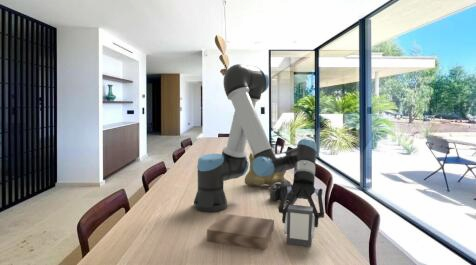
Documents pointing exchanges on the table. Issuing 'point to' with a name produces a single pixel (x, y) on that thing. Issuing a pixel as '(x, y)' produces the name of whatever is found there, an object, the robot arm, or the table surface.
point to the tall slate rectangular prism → (299, 225)
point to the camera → (280, 191)
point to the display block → (241, 231)
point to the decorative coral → (256, 180)
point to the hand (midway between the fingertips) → (298, 234)
